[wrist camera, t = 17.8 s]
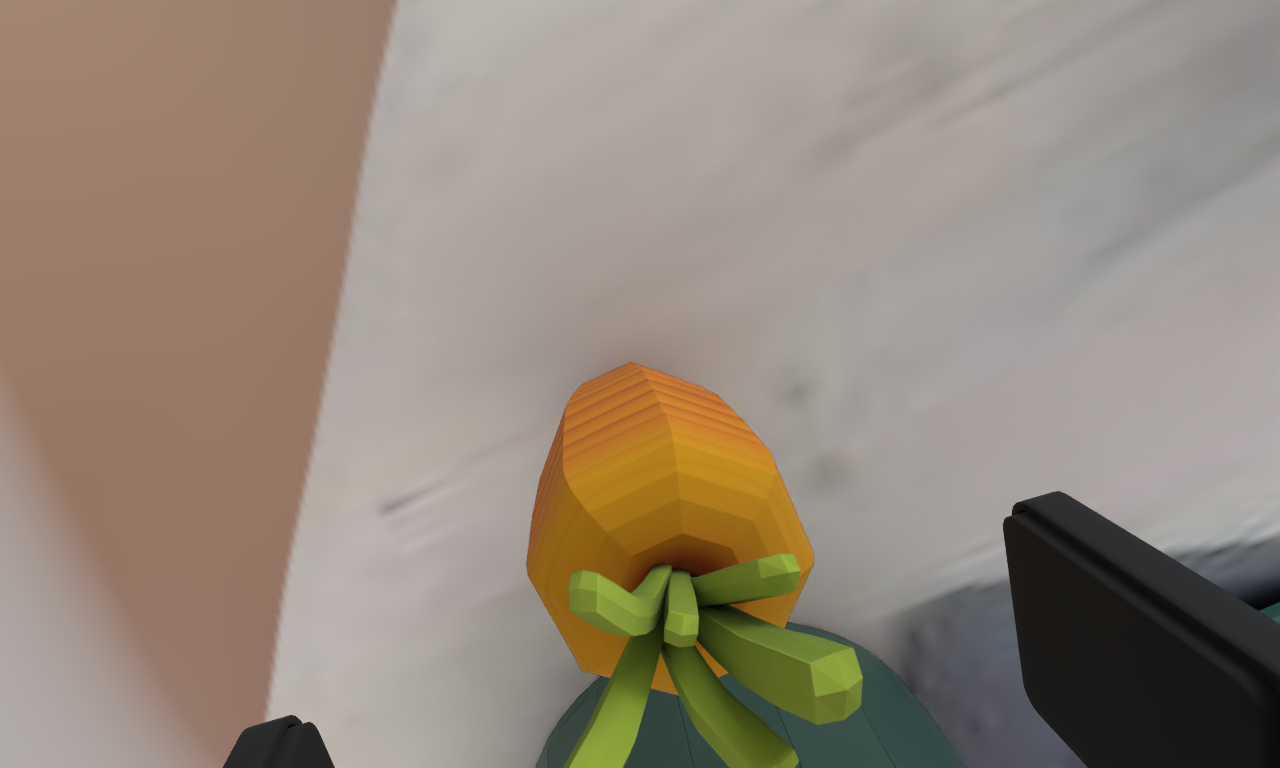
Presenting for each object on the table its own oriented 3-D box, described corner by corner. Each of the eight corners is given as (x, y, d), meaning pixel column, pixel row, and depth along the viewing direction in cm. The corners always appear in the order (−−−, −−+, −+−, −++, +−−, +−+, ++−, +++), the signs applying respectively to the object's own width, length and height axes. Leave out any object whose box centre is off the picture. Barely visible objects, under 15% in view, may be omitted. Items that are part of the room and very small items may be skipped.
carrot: (543, 478, 24) (526, 966, 9) (531, 316, 22) (490, 589, 8) (706, 466, 24) (932, 913, 10) (704, 307, 23) (964, 548, 8)
